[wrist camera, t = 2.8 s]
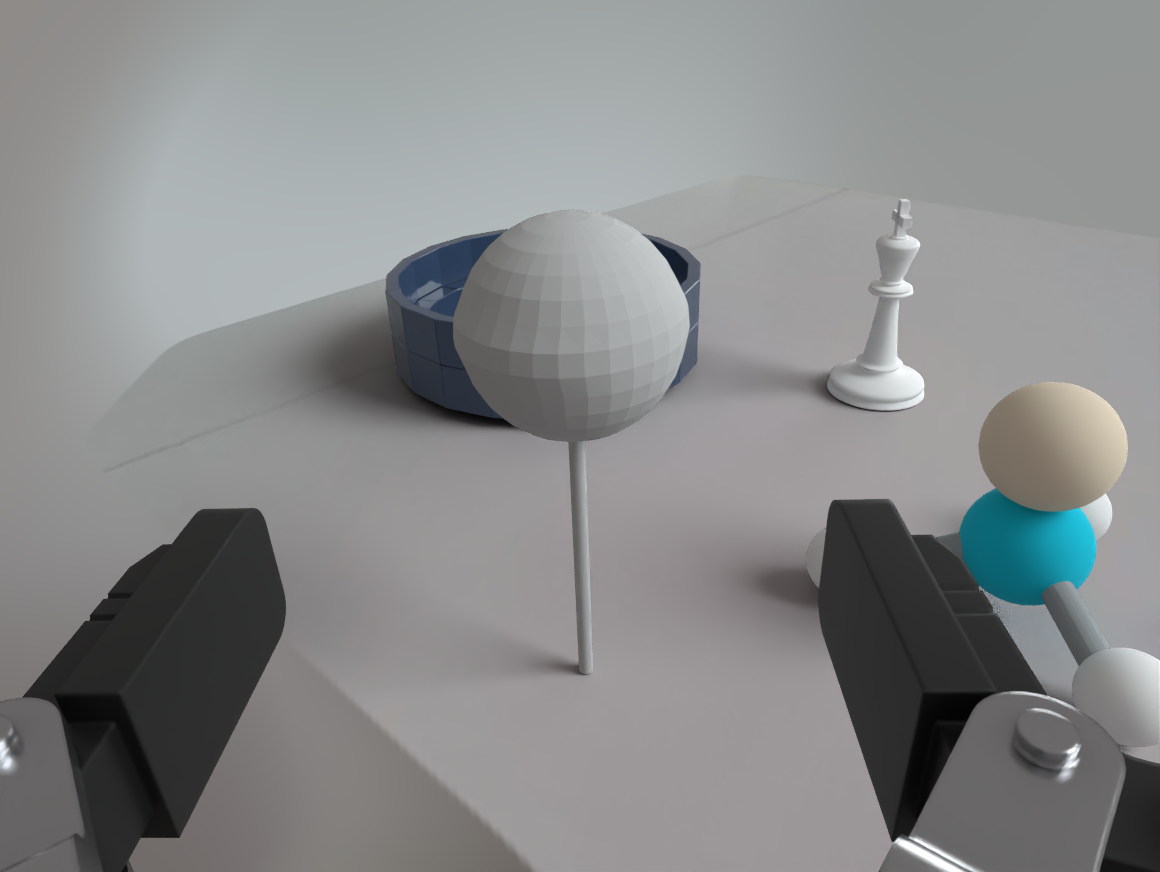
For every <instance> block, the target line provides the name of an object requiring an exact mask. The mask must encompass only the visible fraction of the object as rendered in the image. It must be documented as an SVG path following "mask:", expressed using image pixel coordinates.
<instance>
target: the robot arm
mask: <svg viewBox="0 0 1160 872" xmlns="http://www.w3.org/2000/svg"><path fill="white" fill-rule="evenodd" d="M818 603H819V617H820V623H821V629H822V633H823V636H824V639H825V642H826V645H827V648H828V651H829V654H830V657H831V660H832V663H833V666H834V669H835V672H836V675H837V678H838V681H839V684H840V687H841V690H842V693H843V696H844V699H845V702H846V705H847V708H848V711H849V715H850V718H851V721H852V724H853V727H854V730H855V733H856V736H857V739H858V742H859V745H860V748H861V751H862V754H863V757H864V760H865V763H866V766H867V769H868V772H869V775H870V778H871V781H872V784H873V787H874V790H875V793H876V796H877V799H878V802H879V805H880V808H881V811H882V814H883V817H884V820H885V823H886V826H887V829H888V832H889V835H890V838H891V841H892V842H894V844H893V845H892V847H891V849H890V851H889V852H888V854H887V856H886V858H885V860H884V862H883V864H882V866H881V868H880V870H879V872H1160V764H1158V763H1154V762H1149V761H1146V760H1142V759H1139V758H1135V757H1132V756H1129V755H1126V754H1124V753H1122V752H1121V750H1120V748H1119V746H1118V745H1117V743H1116V742H1115V740H1114V739H1113V738H1112V736H1111V735H1110V734H1109V733H1108V732H1107V731H1106V730H1105V729H1104V728H1103V727H1102V726H1101V725H1100V724H1099V723H1098V722H1097V721H1095V720H1094V719H1092V718H1091V717H1090V716H1088V715H1087V714H1086V713H1084V712H1082V711H1080V710H1079V709H1077V708H1075V707H1074V706H1071V705H1069V704H1067V703H1065V702H1063V701H1060V700H1058V699H1055V698H1052V697H1049V696H1047V694H1046V692H1045V691H1044V689H1043V688H1042V686H1041V684H1040V683H1039V681H1038V680H1037V678H1036V676H1035V675H1034V673H1033V672H1032V670H1031V668H1030V667H1029V665H1028V663H1027V662H1026V660H1025V659H1024V657H1023V655H1022V654H1021V652H1020V651H1019V649H1018V647H1017V646H1016V644H1015V643H1014V641H1013V639H1012V638H1011V636H1010V635H1009V633H1008V631H1007V630H1006V628H1005V626H1004V625H1003V623H1002V622H1001V620H1000V618H999V617H998V615H997V614H993V607H992V606H991V604H990V602H989V601H988V599H987V598H986V596H985V594H984V593H983V591H979V585H978V583H977V581H976V580H975V578H974V577H973V575H972V573H971V572H970V570H969V569H968V567H967V565H966V564H965V562H964V561H963V559H962V558H961V557H960V556H959V555H957V554H956V553H955V552H953V551H952V550H951V549H950V548H948V547H947V546H946V545H944V544H943V543H942V542H940V541H939V540H938V539H936V538H935V537H934V536H933V535H911V534H910V533H909V531H908V529H907V527H906V525H905V524H904V522H903V520H902V518H901V516H900V515H899V513H898V511H897V509H896V507H895V505H894V504H893V502H892V501H891V500H889V499H863V500H833V501H832V503H831V505H830V508H829V512H828V518H827V526H826V535H825V543H824V551H823V559H822V567H821V575H820V583H819V596H818ZM285 615H286V601H285V594H284V590H283V586H282V582H281V578H280V575H279V571H278V567H277V563H276V559H275V556H274V552H273V548H272V544H271V540H270V537H269V533H268V529H267V525H266V522H265V519H264V517H263V515H262V513H261V512H260V511H259V510H258V509H256V508H236V509H202V510H200V511H198V512H197V513H196V514H195V515H194V517H193V518H192V519H191V520H190V522H189V523H188V524H187V525H186V527H185V528H184V529H183V531H182V532H181V533H180V534H179V536H178V537H177V538H176V539H175V541H174V542H173V543H172V544H168V545H162V546H160V547H159V548H157V549H156V550H154V551H153V552H151V553H150V554H148V555H147V556H146V557H144V558H143V559H141V560H140V561H139V562H137V563H136V564H134V565H133V566H131V567H130V568H129V569H128V570H127V571H126V573H125V574H124V575H123V576H122V578H121V579H120V580H119V581H118V582H117V583H116V585H115V586H114V587H113V588H112V590H111V591H110V592H109V593H108V599H103V600H102V602H101V603H100V604H99V605H98V606H97V608H96V609H95V610H94V611H93V612H92V614H91V615H90V621H85V622H84V623H83V625H82V626H81V627H80V628H79V629H78V631H77V632H76V633H75V634H74V635H73V637H72V638H71V639H70V640H69V642H68V643H67V644H66V645H65V646H64V648H63V649H62V650H61V651H60V652H59V654H58V655H57V656H56V657H55V659H54V660H53V661H52V662H51V663H50V664H49V666H48V667H47V668H46V669H45V670H44V672H43V673H42V674H41V676H40V677H39V678H38V679H37V680H36V682H35V683H34V684H33V685H32V686H31V687H30V689H29V690H28V691H27V692H26V693H25V695H24V696H23V697H22V698H16V699H9V700H5V701H1V702H0V872H134V871H133V869H132V867H131V864H130V862H129V858H130V856H131V854H132V852H133V851H134V849H135V847H136V845H137V843H138V841H139V840H140V838H180V835H181V833H182V831H183V829H184V827H185V826H186V823H187V822H188V820H189V818H190V816H191V814H192V812H193V810H194V808H195V806H196V804H197V802H198V800H199V798H200V796H201V794H202V792H203V790H204V788H205V786H206V784H207V782H208V780H209V778H210V776H211V774H212V772H213V770H214V768H215V766H216V764H217V762H218V760H219V758H220V756H221V754H222V752H223V750H224V748H225V746H226V744H227V743H228V741H229V738H230V736H231V735H232V732H233V730H234V729H235V726H236V725H237V723H238V720H239V719H240V717H241V715H242V713H243V711H244V709H245V707H246V705H247V703H248V701H249V699H250V697H251V695H252V693H253V691H254V689H255V687H256V685H257V683H258V681H259V679H260V677H261V675H262V673H263V671H264V669H265V667H266V665H267V663H268V661H269V659H270V657H271V655H272V653H273V651H274V649H275V647H276V645H277V644H278V641H279V639H280V637H281V635H282V632H283V628H284V623H285Z"/></svg>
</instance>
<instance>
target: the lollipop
mask: <svg viewBox="0 0 1160 872" xmlns="http://www.w3.org/2000/svg"><path fill="white" fill-rule="evenodd" d="M689 328H690V322H689V309H688V303H687V300H686V297H685V295H684V293H683V291H682V289H681V287H680V285H679V283H678V280H677V278H676V277H675V275H674V273H673V271H672V269H671V267H670V265H669V264H668V262H667V260H666V259H665V257H664V256H663V255H662V254H661V253H660V252H659V250H658V249H657V248H656V247H655V246H654V245H653V243H652V242H650V241H649V240H648V239H647V238H646V237H645V236H643V235H642V234H641V233H639V232H638V231H637V230H635V229H634V228H632V227H631V226H629V225H627V224H625V223H623V222H621V221H619V220H616V219H614V218H612V217H609V216H607V215H604V214H600V213H595V212H587V211H580V210H562V211H555V212H551V213H545V214H541V215H537V216H534V217H531V218H528V219H526V220H525V221H523V222H521V223H519V224H517V225H515V226H513V227H511V228H510V229H508V230H507V231H505V232H504V233H503V234H502V235H500V236H499V237H498V238H497V239H496V240H495V241H494V242H492V243H491V244H490V245H489V246H488V247H487V249H486V250H485V251H484V252H483V254H482V255H481V256H480V258H479V259H478V261H477V262H476V263H475V265H474V266H473V267H472V270H471V272H470V274H469V276H468V279H467V281H466V283H465V285H464V288H463V291H462V293H461V296H460V299H459V302H458V305H457V308H456V310H455V313H454V316H453V340H454V345H455V348H456V350H457V352H458V354H459V357H460V359H461V361H462V363H463V365H464V367H465V369H466V371H467V373H468V375H469V377H470V380H471V382H472V384H473V386H474V387H475V388H476V390H477V391H478V392H479V393H480V395H481V396H482V397H483V399H484V400H485V401H486V402H487V404H488V405H489V406H490V408H491V409H493V410H494V411H495V412H496V413H497V414H499V415H500V416H501V417H502V418H504V419H505V420H506V421H508V422H509V423H510V424H512V425H513V426H515V427H517V428H519V429H522V430H524V431H526V432H528V433H531V434H533V435H535V436H538V437H541V438H545V439H549V440H555V441H567V442H569V462H570V483H571V505H572V526H573V548H574V569H575V591H576V612H577V634H578V655H579V671H580V672H581V673H582V674H590V673H591V672H592V671H593V656H592V627H591V599H590V570H589V542H588V514H587V485H586V457H585V441H588V440H595V439H599V438H603V437H607V436H610V435H612V434H615V433H617V432H619V431H621V430H623V429H625V428H626V427H628V426H630V425H632V424H633V423H635V422H637V421H639V420H640V419H641V418H642V417H643V416H644V415H646V414H647V413H648V412H649V411H650V410H651V409H652V408H653V407H654V406H655V405H656V404H657V403H658V402H659V401H660V400H661V398H662V397H663V395H664V394H665V392H666V391H667V389H668V388H669V386H670V384H671V383H672V381H673V380H674V378H675V376H676V374H677V371H678V368H679V366H680V363H681V360H682V358H683V354H684V350H685V346H686V341H687V337H688V333H689Z"/></svg>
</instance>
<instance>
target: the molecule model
mask: <svg viewBox="0 0 1160 872" xmlns="http://www.w3.org/2000/svg"><path fill="white" fill-rule="evenodd" d="M1127 454H1128V442H1127V435H1126V431H1125V428H1124V426H1123V424H1122V422H1121V420H1120V418H1119V416H1118V414H1117V413H1116V412H1115V410H1114V409H1113V408H1112V407H1111V406H1110V405H1109V403H1108V402H1106V401H1105V400H1104V399H1102V398H1101V397H1100V396H1098V395H1097V394H1095V393H1094V392H1092V391H1090V390H1088V389H1085V388H1082V387H1080V386H1077V385H1073V384H1069V383H1062V382H1043V383H1037V384H1033V385H1029V386H1025V387H1023V388H1021V389H1018V390H1016V391H1014V392H1012V393H1011V394H1009V395H1008V396H1006V397H1005V398H1004V399H1002V400H1001V401H1000V402H999V403H998V404H997V405H996V406H995V407H994V408H993V409H992V410H991V412H990V413H989V415H988V416H987V418H986V420H985V421H984V424H983V426H982V429H981V433H980V438H979V455H980V461H981V464H982V467H983V469H984V471H985V473H986V475H987V477H988V478H989V480H990V482H991V483H992V484H993V485H994V486H995V487H996V489H994V490H992V491H990V492H988V493H986V494H985V495H983V496H982V497H981V498H979V499H978V500H977V501H976V502H975V503H974V504H973V505H972V506H971V507H970V508H969V510H968V511H967V513H966V515H965V516H964V518H963V521H962V524H961V527H960V532H959V533H954V534H950V535H945V536H941V537H936V539H938V540H939V541H940V542H942V543H943V544H944V545H946V546H947V547H948V548H950V549H951V550H952V551H953V552H955V553H956V554H957V555H959V556H960V557H961V558H962V559H963V561H964V562H965V564H966V565H967V567H968V569H969V570H970V572H971V573H972V575H973V577H974V578H975V580H976V581H977V583H978V585H979V586H981V587H982V588H983V589H984V590H986V591H987V592H988V593H990V594H992V595H994V596H995V597H997V598H999V599H1002V600H1005V601H1007V602H1010V603H1015V604H1020V605H1042V604H1045V605H1046V607H1047V609H1048V610H1049V612H1050V614H1051V616H1052V618H1053V620H1054V621H1055V623H1056V625H1057V627H1058V629H1059V631H1060V632H1061V634H1062V636H1063V638H1064V640H1065V642H1066V643H1067V645H1068V647H1069V649H1070V651H1071V653H1072V654H1073V656H1074V658H1075V660H1076V662H1077V664H1078V665H1079V667H1078V669H1077V671H1076V672H1075V675H1074V678H1073V682H1072V697H1073V701H1074V704H1075V707H1076V708H1077V709H1079V710H1080V711H1082V712H1084V713H1086V714H1087V715H1088V716H1090V717H1091V718H1092V719H1094V720H1095V721H1097V722H1098V723H1099V724H1100V725H1101V726H1102V727H1103V728H1104V729H1105V730H1106V731H1107V732H1108V733H1109V734H1110V735H1111V736H1112V738H1113V739H1114V740H1115V742H1116V743H1117V744H1120V745H1125V746H1130V747H1145V746H1151V745H1155V744H1158V743H1160V661H1159V660H1158V659H1156V658H1154V657H1153V656H1151V655H1149V654H1147V653H1144V652H1141V651H1138V650H1135V649H1130V648H1109V646H1108V644H1107V642H1106V641H1105V639H1104V637H1103V635H1102V634H1101V632H1100V630H1099V628H1098V627H1097V625H1096V623H1095V621H1094V620H1093V618H1092V616H1091V614H1090V613H1089V611H1088V609H1087V607H1086V606H1085V604H1084V602H1083V600H1082V599H1081V597H1080V595H1079V593H1078V592H1077V589H1078V588H1079V587H1080V586H1081V585H1082V583H1083V582H1084V581H1085V580H1086V579H1087V577H1088V575H1089V574H1090V572H1091V570H1092V568H1093V565H1094V561H1095V557H1096V541H1097V540H1098V539H1100V538H1101V537H1102V536H1103V535H1104V534H1105V532H1106V531H1107V530H1108V528H1109V526H1110V523H1111V520H1112V507H1111V503H1110V500H1109V498H1108V497H1107V495H1106V494H1105V493H1106V492H1108V491H1109V490H1110V489H1111V488H1112V486H1113V485H1114V484H1115V483H1116V481H1117V480H1118V479H1119V477H1120V475H1121V473H1122V471H1123V469H1124V466H1125V463H1126V459H1127ZM825 535H826V528H824V529H823V530H822V531H820V532H819V533H818V534H817V535H816V536H815V537H814V538H813V539H812V541H811V543H810V545H809V547H808V550H807V555H806V565H807V570H808V573H809V575H810V577H811V579H812V581H813V582H814V584H815V585H816V586H817V587H818V588H819V583H820V575H821V567H822V559H823V551H824V543H825Z"/></svg>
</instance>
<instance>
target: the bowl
mask: <svg viewBox="0 0 1160 872" xmlns="http://www.w3.org/2000/svg"><path fill="white" fill-rule="evenodd" d="M507 230H508V229H505V230H498V231H492V232H486V233H481V234H475V235H469V236H465V237H460V238H457V239H453V240H450V241H446V242H443V243H440V244H436V245H433V246H430V247H428V248H426V249H424V250H422V251H419V252H417V253H415V254H413V255H411V256H409V257H407V258H405V259H403V260H402V261H401V262H400V263H399V264H398V265H397V266H396V267H395V268H394V269H392V271H390V273H388V275H387V276H386V290H385V293H386V299H387V306H388V312H389V319H390V325H391V332H392V338H393V345H394V351H395V358H396V364H397V371H398V374H399V375H400V376H401V378H402V379H403V380H404V381H405V382H406V384H407V385H408V386H409V387H410V388H411V390H412V391H413V392H414V393H416V394H418V395H420V396H422V397H424V398H426V399H428V400H430V401H432V402H434V403H436V404H438V405H441V406H443V407H445V408H448V409H453V410H457V411H462V412H467V413H472V414H476V415H481V416H486V417H492V418H502V417H501V416H500V415H499V414H497V413H496V412H495V411H494V410H493V409H491V408H490V406H489V405H488V404H487V402H486V401H485V400H484V399H483V397H482V396H481V395H480V393H479V392H478V391H477V390H476V388H475V387H474V386H473V384H472V382H471V380H470V377H469V375H468V373H467V371H466V369H465V367H464V365H463V363H462V361H461V359H460V357H459V354H458V352H457V350H456V348H455V345H454V340H453V316H454V313H455V310H456V308H457V305H458V302H459V299H460V296H461V293H462V291H463V288H464V285H465V283H466V281H467V279H468V276H469V274H470V272H471V270H472V267H473V266H474V265H475V263H476V262H477V261H478V259H479V258H480V256H481V255H482V254H483V252H484V251H485V250H486V249H487V247H488V246H489V245H490V244H491V243H492V242H494V241H495V240H496V239H497V238H498V237H499V236H500V235H502V234H503V233H504V232H505V231H507ZM642 235H643V236H645V237H646V238H647V239H648V240H649V241H650V242H652V243H653V245H654V246H655V247H656V248H657V249H658V250H659V252H660V253H661V254H662V255H663V256H664V257H665V259H666V260H667V262H668V264H669V265H670V267H671V269H672V271H673V273H674V275H675V277H676V278H677V280H678V283H679V285H680V287H681V289H682V291H683V293H684V295H685V297H686V300H687V303H688V309H689V322H690V328H689V333H688V337H687V341H686V346H685V350H684V354H683V358H682V360H681V363H680V366H679V368H678V371H677V374H676V376H675V378H674V380H673V381H672V383H671V384H670V386H669V388H671V387H673V386H674V385H676V384H678V383H679V382H681V380H682V379H683V378H684V377H685V376H686V375H687V373H688V372H689V371H690V370H691V369H692V367H693V366H694V365H695V364H696V362H697V342H698V317H699V293H700V266H701V264H700V262H699V261H698V260H697V259H696V258H695V257H694V256H693V255H692V254H691V253H690V252H689V251H688V250H687V249H685V248H683V247H680V246H678V245H676V244H673V243H671V242H669V241H666V240H664V239H662V238H659V237H654V236H650V235H645V234H642ZM669 388H668V389H669Z"/></svg>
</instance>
